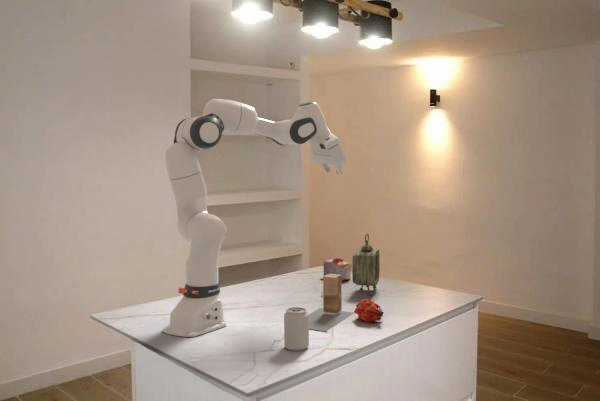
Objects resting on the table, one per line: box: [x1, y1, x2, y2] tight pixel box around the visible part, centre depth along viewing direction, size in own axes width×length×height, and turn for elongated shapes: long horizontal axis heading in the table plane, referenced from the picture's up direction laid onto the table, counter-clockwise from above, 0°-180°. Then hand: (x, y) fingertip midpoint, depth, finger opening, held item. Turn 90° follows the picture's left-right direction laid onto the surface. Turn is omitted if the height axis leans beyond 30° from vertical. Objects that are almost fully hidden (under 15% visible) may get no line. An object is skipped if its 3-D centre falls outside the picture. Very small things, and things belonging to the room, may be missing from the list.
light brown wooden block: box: [322, 274, 343, 316], centre depth 207 cm, size 5×5×14 cm
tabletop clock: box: [351, 233, 381, 296], centre depth 238 cm, size 14×9×25 cm, turn 162°
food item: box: [323, 257, 352, 282], centre depth 264 cm, size 14×8×10 cm, turn 44°
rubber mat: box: [308, 307, 354, 333], centre depth 200 cm, size 24×14×1 cm, turn 152°
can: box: [283, 306, 310, 352], centre depth 172 cm, size 8×8×12 cm
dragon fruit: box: [353, 298, 384, 324], centre depth 197 cm, size 8×8×12 cm
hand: (334, 172), depth 223 cm, fingers open, 8 cm apart
